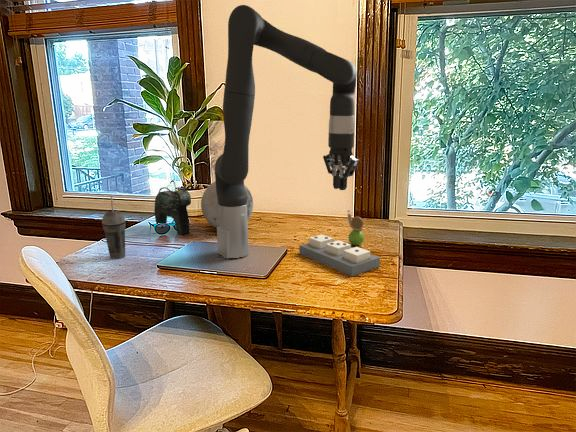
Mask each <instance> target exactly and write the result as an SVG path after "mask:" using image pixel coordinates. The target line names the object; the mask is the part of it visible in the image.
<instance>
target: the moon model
mask: <svg viewBox="0 0 576 432" xmlns="http://www.w3.org/2000/svg"><path fill="white" fill-rule="evenodd" d="M244 188H245V192H246V195H247V218H248V220H250V219H251V215H252V214H253V210H254V199H253V198H254V197H253V194H252V192H251V191H250V190H249V188H248V186H246V185H245V184H244ZM200 208H201V213H202V215H203V217H204V218H205V220H206V221H207V222H208V224H209V225H210V226H212V227H213V228H216V229H217V227H219V212H218V198H217V193H216V181H215V180H214V181H213V182H211V183H210V184H209V185H208V186H207V187H206V188H205V190H204V191H203V193H202V196H201V200H200Z"/></svg>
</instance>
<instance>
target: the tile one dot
mask: <svg viewBox="0 0 576 432" xmlns="http://www.w3.org/2000/svg"><path fill="white" fill-rule="evenodd" d="M370 254H371V251H370V250H368V249H364V248H361V247H359V246H355V247H354V246H353V247H352V248H351V249H347V250H344V259H347V260H349V261H352V262H354V263H360V262H363V261H366V260H369V259H370Z"/></svg>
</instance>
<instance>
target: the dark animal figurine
mask: <svg viewBox="0 0 576 432" xmlns="http://www.w3.org/2000/svg"><path fill="white" fill-rule="evenodd" d="M169 183H170V184H172V183H173V184H174V190H170V188H168V187H161V188H159V190H158V193H157V194H156V196H155V197H154V198H155V199H154V212H153V213H154V219H155V222H156V223H155V224H158V223H167V222H168V217H170V218H172V220H173V221H174V224H175V226H176V234H177V235H180V236H186V235H189V234H190V221H189V219H190V218H189V212H188V209H187V207H188V206H190V205H191V203H192V199H191V197H192V196H191V195H190V192H189V191H188V190H187V189H188V188H187V187H184V188H183V189H181V187H178V189H177V187H176V182H175V181H174V180H171V181H170V182H169ZM162 189H166V190H163V191H162Z"/></svg>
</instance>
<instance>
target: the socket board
mask: <svg viewBox="0 0 576 432" xmlns="http://www.w3.org/2000/svg"><path fill="white" fill-rule="evenodd" d="M334 241H335V240H333V242H334ZM351 248H353V247H352V246H351ZM298 251H299V252H298V253H299V255H301V256H303V257H306V258H309V259H311V260H313V261H315V262H316V263H317V262H318V263H320V264H322V265H325V266H327V267H330V268H332V269H334V270H337V271H338V272H341V273H343V274H345V275H348V276H350V277H354V276H357V275H360V274H363V273H366V272H369V271H372V270H375V269H376V268H380V265H381V257H380V256H377V255H374V254H372V253H370V259H369V260H366V261H363V262H360V263H354V262H352V261H349V260H347V259H344V254H343V255H340V256H336V255H334V254H331V253H329V252H326V248H323V249H319V248H316V247H313V246H311V245H309V242H306V243H303V244H299V249H298Z"/></svg>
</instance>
